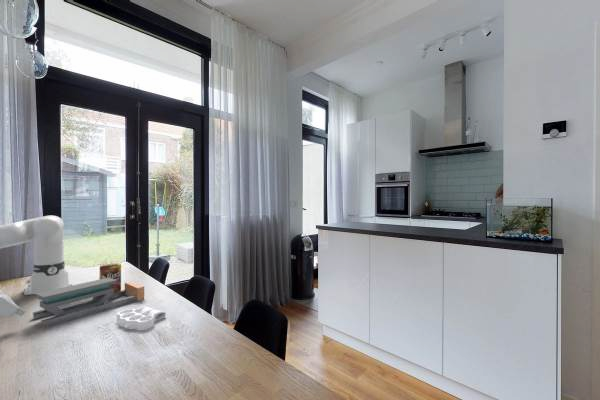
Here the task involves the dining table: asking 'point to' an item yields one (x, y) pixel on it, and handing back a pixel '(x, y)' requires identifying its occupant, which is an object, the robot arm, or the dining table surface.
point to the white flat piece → (139, 318)
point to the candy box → (112, 274)
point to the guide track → (84, 311)
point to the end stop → (134, 290)
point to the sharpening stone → (76, 296)
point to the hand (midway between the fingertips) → (22, 312)
